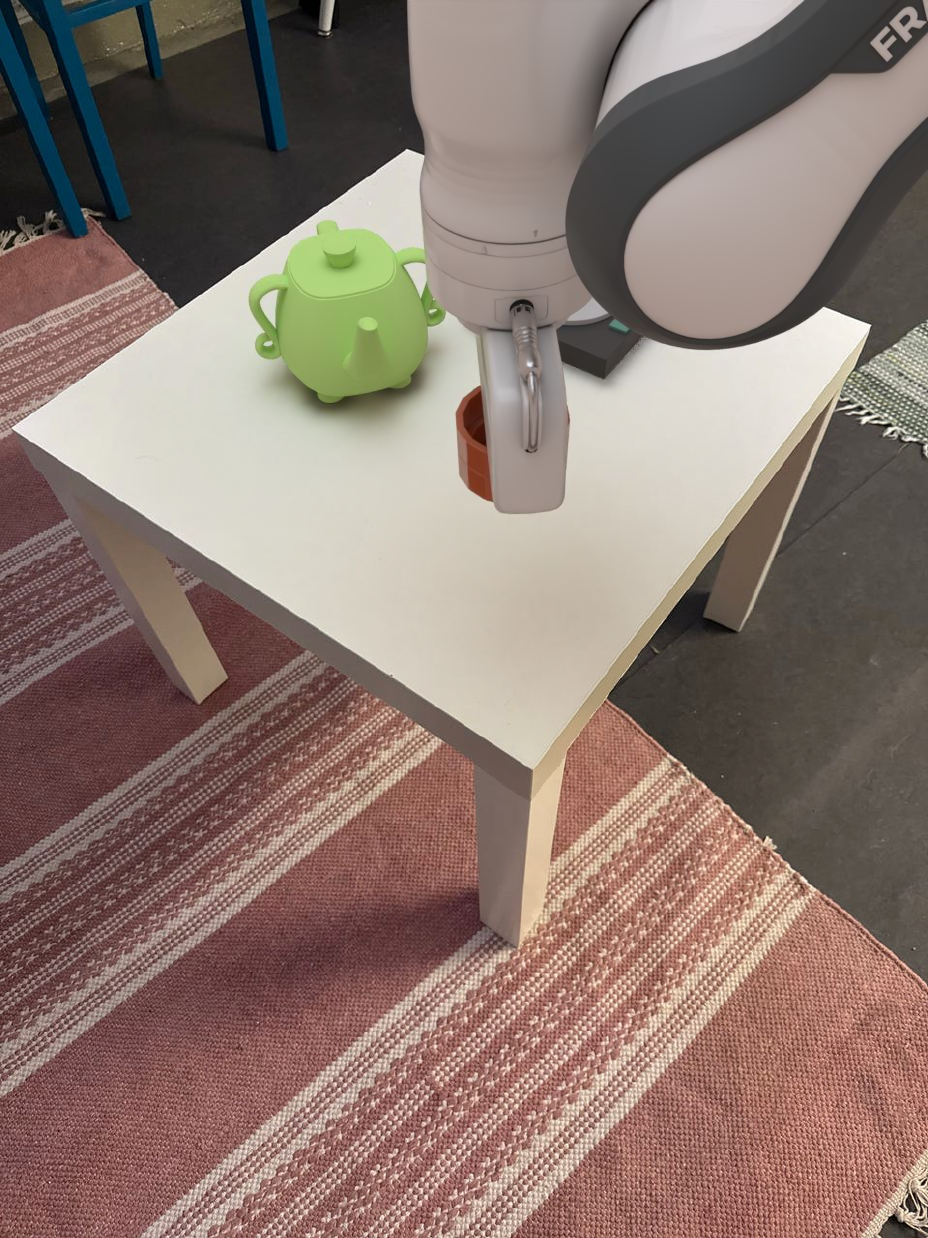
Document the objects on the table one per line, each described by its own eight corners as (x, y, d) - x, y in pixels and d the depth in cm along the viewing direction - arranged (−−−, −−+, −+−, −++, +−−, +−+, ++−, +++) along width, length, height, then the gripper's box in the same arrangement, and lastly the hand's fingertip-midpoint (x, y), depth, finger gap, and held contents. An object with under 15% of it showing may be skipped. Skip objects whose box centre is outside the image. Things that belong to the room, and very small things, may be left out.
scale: (676, 298, 89) (680, 273, 87) (604, 379, 83) (607, 354, 81) (553, 252, 94) (555, 227, 92) (476, 325, 88) (476, 300, 86)
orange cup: (558, 429, 60) (562, 374, 56) (571, 506, 56) (576, 452, 52) (456, 436, 60) (453, 381, 56) (462, 514, 56) (459, 460, 52)
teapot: (478, 357, 85) (477, 232, 75) (385, 448, 79) (370, 325, 69) (344, 298, 91) (325, 175, 81) (247, 378, 84) (213, 255, 74)
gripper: (608, 383, 39) (585, 579, 51) (553, 135, 51) (544, 340, 62) (461, 393, 39) (471, 587, 51) (440, 143, 51) (452, 346, 62)
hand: (511, 448), depth 56 cm, fingers closed on orange cup, 7 cm apart
